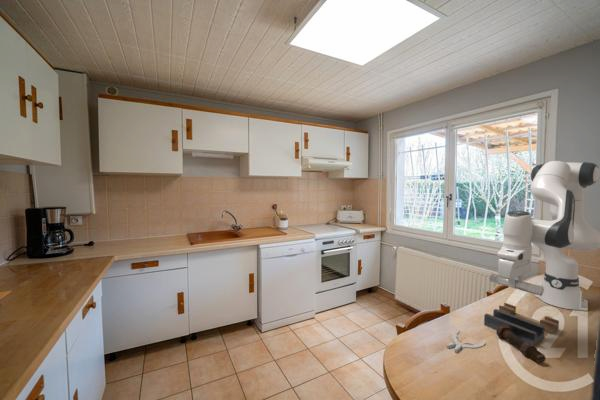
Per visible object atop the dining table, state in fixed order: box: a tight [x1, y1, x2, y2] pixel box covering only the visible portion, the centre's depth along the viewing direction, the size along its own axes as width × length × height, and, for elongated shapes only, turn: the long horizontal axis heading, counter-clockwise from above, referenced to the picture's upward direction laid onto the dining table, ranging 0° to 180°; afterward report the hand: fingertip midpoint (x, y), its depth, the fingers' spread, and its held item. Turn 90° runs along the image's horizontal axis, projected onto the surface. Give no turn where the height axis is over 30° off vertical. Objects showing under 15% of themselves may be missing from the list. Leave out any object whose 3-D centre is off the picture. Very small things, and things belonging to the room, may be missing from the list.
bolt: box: [495, 325, 546, 364], centre depth 89 cm, size 6×5×15 cm
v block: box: [483, 308, 545, 346], centre depth 100 cm, size 10×16×4 cm, turn 30°
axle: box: [489, 273, 544, 296], centre depth 99 cm, size 16×4×4 cm, turn 30°
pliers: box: [445, 330, 486, 354], centre depth 92 cm, size 10×2×15 cm
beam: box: [498, 302, 560, 335], centre depth 107 cm, size 6×18×4 cm, turn 30°
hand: (514, 285), depth 99 cm, fingers closed on axle, 3 cm apart
